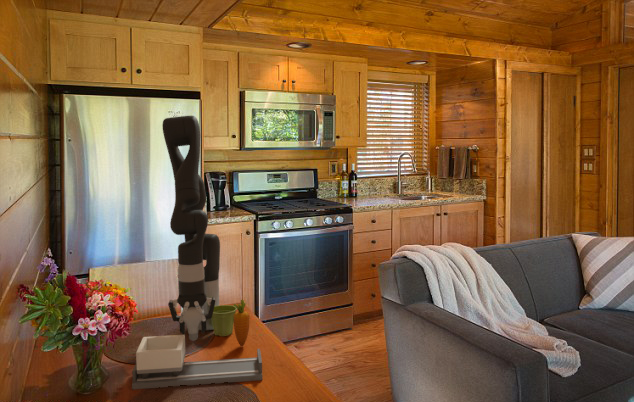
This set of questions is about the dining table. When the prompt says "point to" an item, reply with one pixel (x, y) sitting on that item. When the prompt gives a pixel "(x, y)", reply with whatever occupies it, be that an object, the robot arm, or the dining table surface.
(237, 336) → the carrot
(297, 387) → the dining table surface
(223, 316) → the plant pot
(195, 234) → the robot arm
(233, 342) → the dining table surface
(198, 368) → the rail board
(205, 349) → the dining table surface
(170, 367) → the cream open box
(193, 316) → the lightbulb
